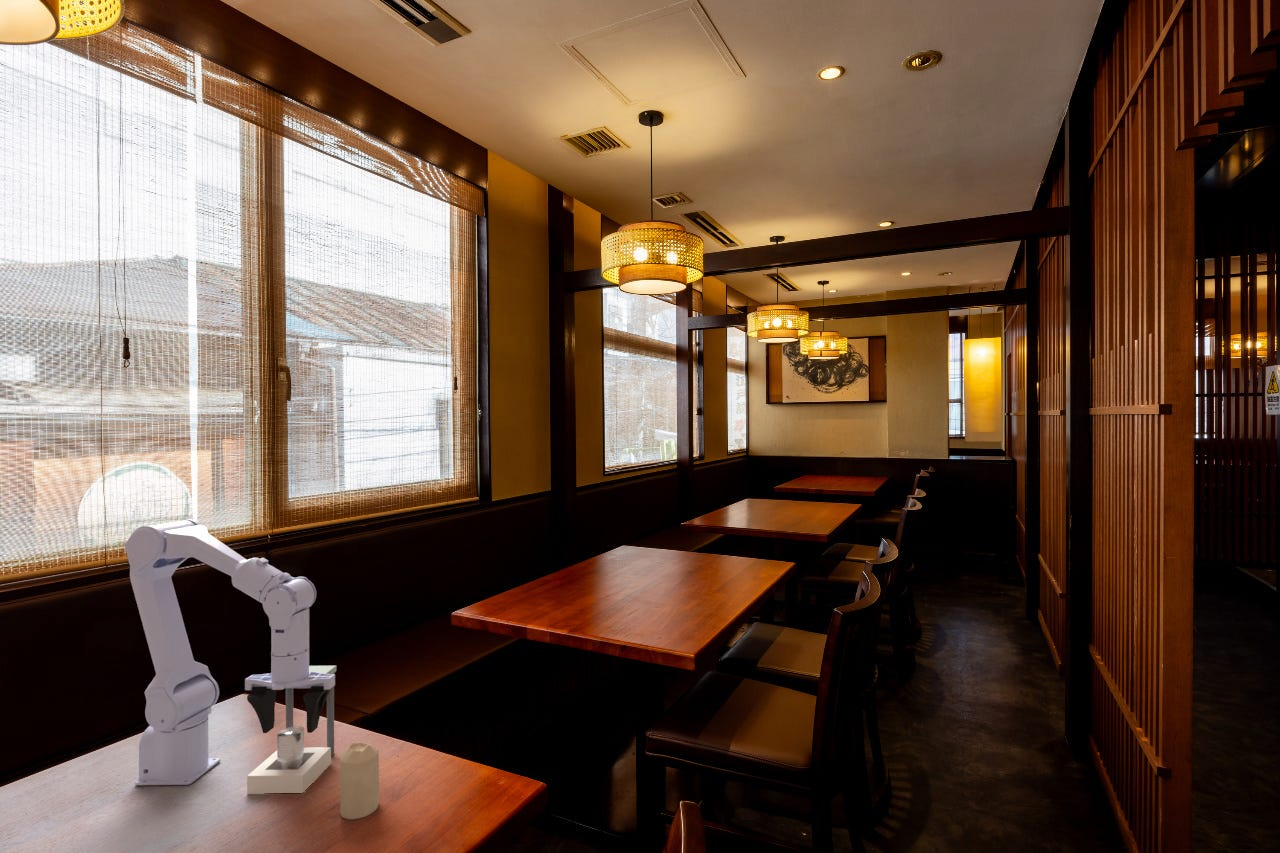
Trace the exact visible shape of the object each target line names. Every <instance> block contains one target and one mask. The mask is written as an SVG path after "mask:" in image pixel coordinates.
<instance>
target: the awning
mask: <svg viewBox="0 0 1280 853" xmlns="http://www.w3.org/2000/svg"><path fill="white" fill-rule="evenodd" d="M309 671H312V672H318V673H324V674H335V673H336V672H337V665H309ZM335 675H336V674H335ZM289 727H294V688H285V729H286V728H289ZM326 747H331V756H333V755H335V685H334V686H333V687H332V688H331V690H330V692H329V694H328V696H327V698H326Z"/></svg>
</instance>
